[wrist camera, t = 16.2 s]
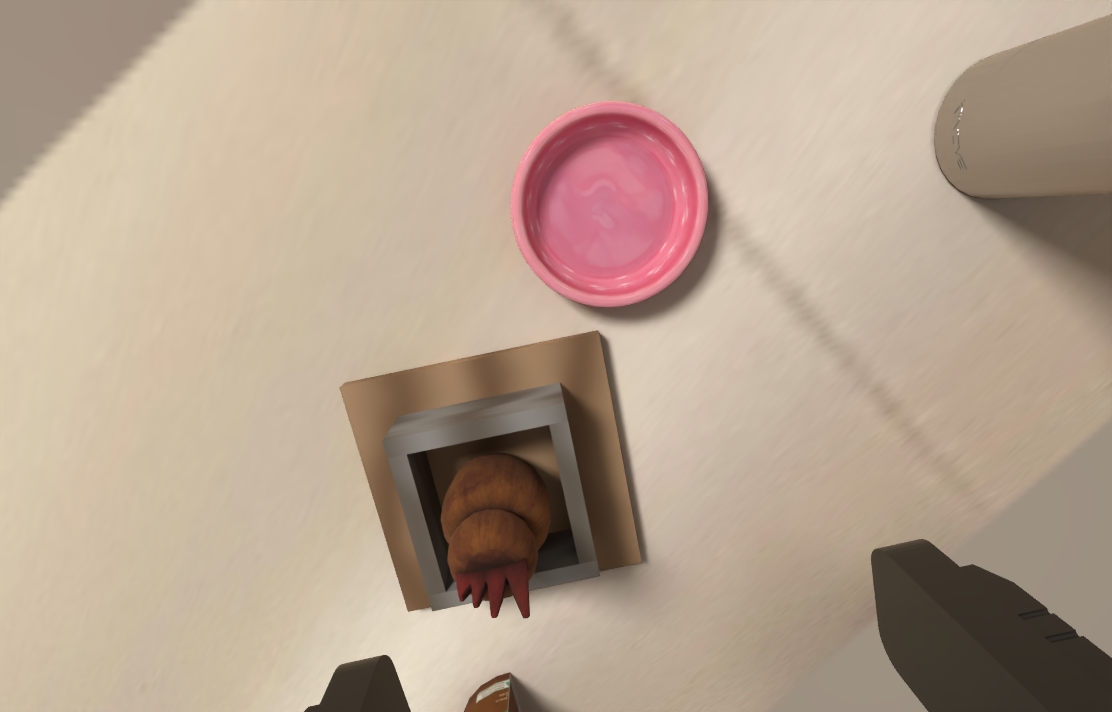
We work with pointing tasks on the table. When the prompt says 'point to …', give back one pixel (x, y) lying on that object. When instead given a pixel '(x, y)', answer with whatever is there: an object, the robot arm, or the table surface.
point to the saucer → (609, 204)
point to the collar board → (496, 427)
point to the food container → (495, 696)
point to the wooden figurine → (495, 529)
